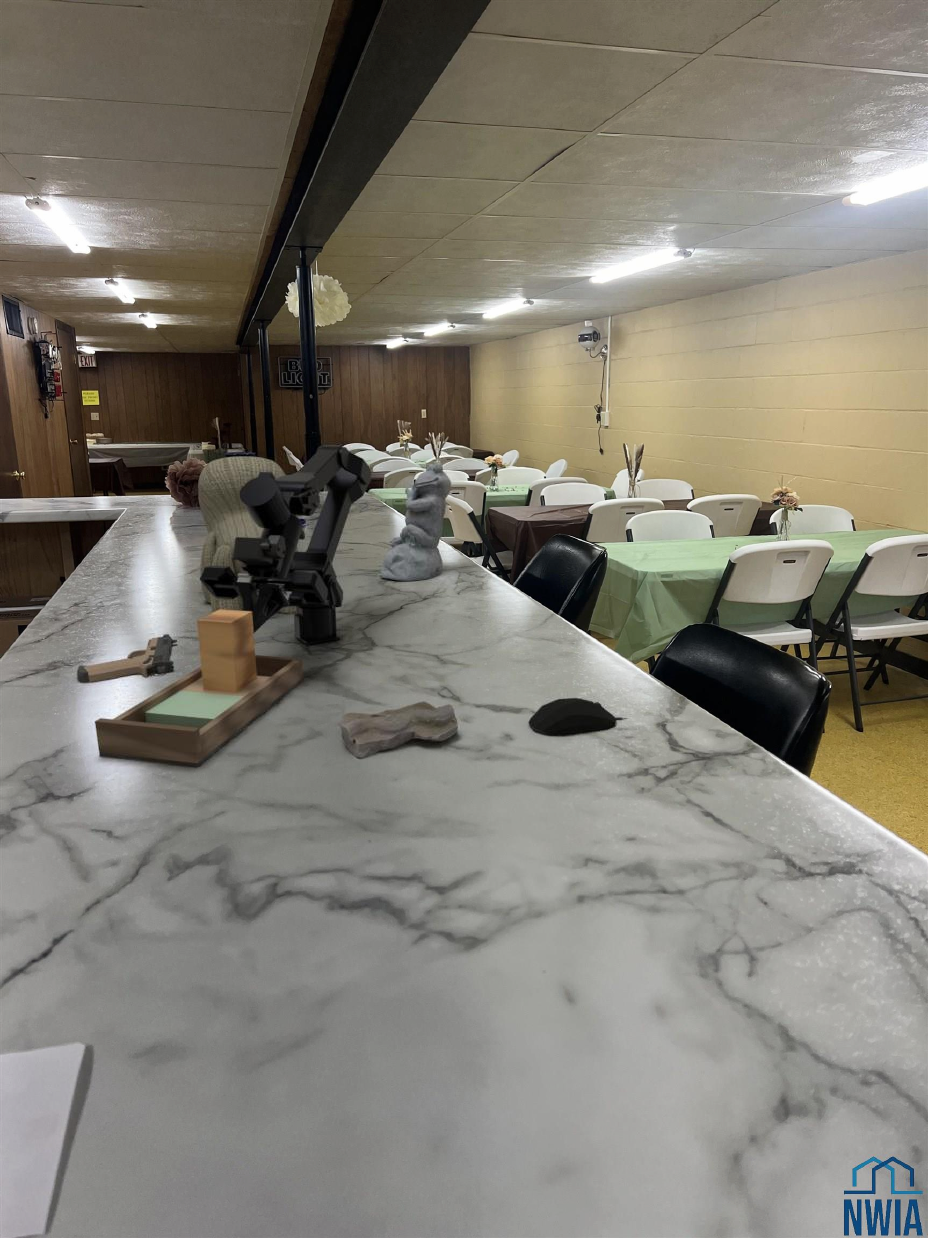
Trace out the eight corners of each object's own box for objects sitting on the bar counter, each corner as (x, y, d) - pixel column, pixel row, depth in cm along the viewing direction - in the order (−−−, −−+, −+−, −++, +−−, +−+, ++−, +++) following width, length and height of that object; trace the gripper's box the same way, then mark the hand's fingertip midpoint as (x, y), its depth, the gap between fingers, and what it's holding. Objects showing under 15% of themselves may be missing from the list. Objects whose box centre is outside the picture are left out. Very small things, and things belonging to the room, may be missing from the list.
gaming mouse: (644, 730, 102) (646, 702, 101) (538, 742, 98) (540, 712, 97) (622, 712, 108) (624, 685, 106) (522, 722, 104) (523, 695, 103)
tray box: (225, 673, 121) (223, 646, 119) (303, 680, 118) (301, 652, 117) (99, 756, 92) (94, 721, 91) (197, 767, 90) (194, 731, 89)
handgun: (75, 688, 116) (173, 677, 120) (72, 672, 116) (171, 661, 120) (93, 652, 134) (178, 643, 138) (90, 638, 133) (176, 629, 137)
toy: (292, 582, 183) (284, 452, 175) (314, 614, 155) (307, 462, 147) (200, 589, 176) (188, 454, 168) (206, 623, 148) (192, 464, 140)
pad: (181, 704, 107) (179, 690, 107) (254, 711, 105) (253, 697, 104) (146, 726, 100) (145, 712, 99) (224, 734, 97) (223, 720, 97)
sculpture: (379, 562, 200) (393, 448, 188) (438, 570, 203) (456, 458, 190) (378, 590, 184) (393, 467, 172) (442, 598, 186) (462, 477, 174)
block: (225, 675, 113) (219, 609, 110) (256, 678, 112) (252, 611, 109) (203, 689, 107) (197, 620, 104) (236, 692, 106) (230, 622, 103)
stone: (349, 764, 91) (348, 732, 90) (333, 733, 100) (332, 703, 99) (465, 746, 96) (465, 715, 95) (441, 718, 105) (440, 689, 104)
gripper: (200, 512, 116) (165, 601, 108) (317, 517, 112) (288, 609, 105) (230, 555, 125) (200, 639, 118) (338, 560, 122) (314, 647, 114)
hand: (248, 633), depth 113 cm, fingers closed
